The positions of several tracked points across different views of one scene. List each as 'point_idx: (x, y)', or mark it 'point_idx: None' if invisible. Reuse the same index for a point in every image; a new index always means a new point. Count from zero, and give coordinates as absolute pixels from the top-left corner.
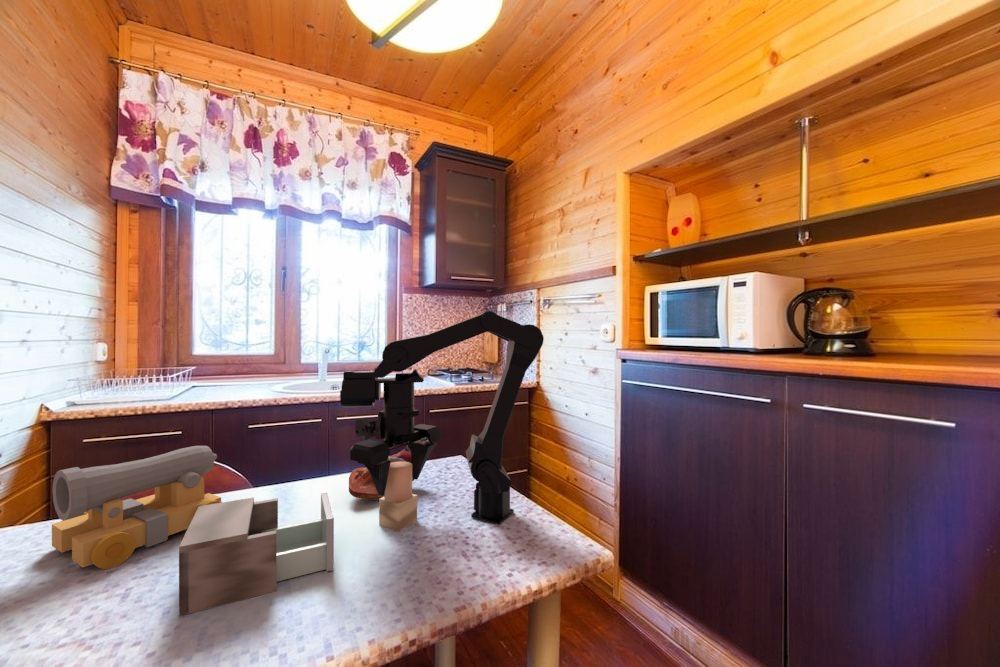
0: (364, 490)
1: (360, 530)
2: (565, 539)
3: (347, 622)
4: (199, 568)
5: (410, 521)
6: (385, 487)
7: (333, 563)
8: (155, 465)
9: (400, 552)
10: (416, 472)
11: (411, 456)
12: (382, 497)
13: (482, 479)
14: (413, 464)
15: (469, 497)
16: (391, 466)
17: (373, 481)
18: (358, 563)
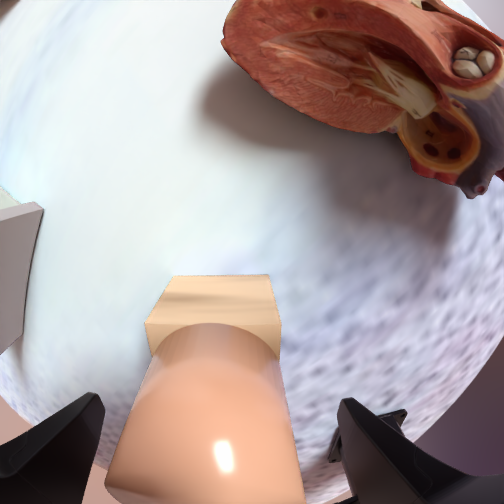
0: (269, 69)
1: (117, 250)
2: (321, 497)
3: (28, 406)
4: None
5: None
6: (96, 444)
7: (15, 339)
8: None
9: (131, 400)
10: (345, 443)
11: (403, 482)
12: (164, 325)
13: None
14: (372, 457)
15: (440, 353)
16: (158, 498)
17: (41, 424)
18: (58, 355)
